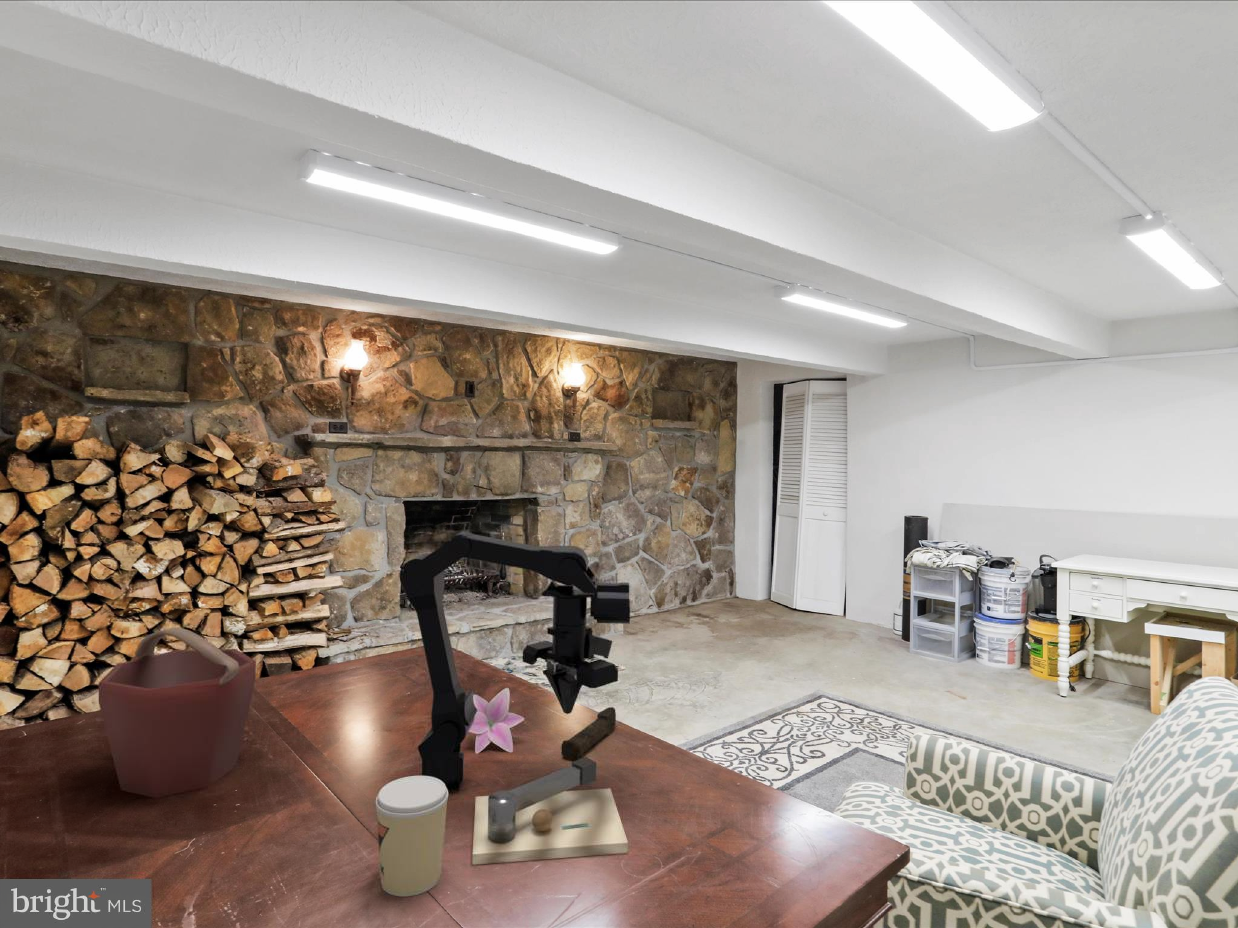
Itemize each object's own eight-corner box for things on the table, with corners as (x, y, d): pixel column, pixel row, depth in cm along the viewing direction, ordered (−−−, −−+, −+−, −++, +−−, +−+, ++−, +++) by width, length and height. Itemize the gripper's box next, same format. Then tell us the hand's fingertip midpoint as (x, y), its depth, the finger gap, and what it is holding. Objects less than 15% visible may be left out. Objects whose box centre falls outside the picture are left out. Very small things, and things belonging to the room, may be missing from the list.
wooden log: (578, 764, 130) (578, 739, 130) (560, 759, 132) (560, 734, 132) (626, 729, 147) (627, 707, 147) (609, 724, 149) (610, 703, 149)
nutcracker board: (472, 864, 99) (473, 832, 99) (475, 805, 115) (476, 778, 114) (627, 852, 103) (628, 822, 102) (610, 797, 118) (610, 770, 118)
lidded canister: (384, 858, 100) (385, 774, 99) (451, 856, 101) (453, 773, 100) (366, 901, 90) (367, 809, 90) (440, 899, 91) (442, 808, 91)
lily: (445, 752, 136) (452, 719, 131) (473, 708, 146) (480, 676, 141) (502, 777, 134) (511, 744, 130) (526, 731, 144) (535, 698, 140)
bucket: (271, 777, 122) (272, 633, 121) (117, 826, 106) (117, 661, 105) (222, 734, 139) (222, 607, 138) (82, 771, 123) (82, 628, 122)
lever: (498, 845, 101) (498, 805, 100) (482, 834, 103) (482, 795, 103) (598, 798, 114) (599, 763, 114) (581, 789, 117) (582, 755, 117)
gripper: (642, 625, 119) (640, 716, 120) (569, 604, 132) (567, 687, 133) (593, 636, 111) (591, 735, 112) (521, 614, 125) (519, 701, 125)
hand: (567, 712), depth 121 cm, fingers closed
